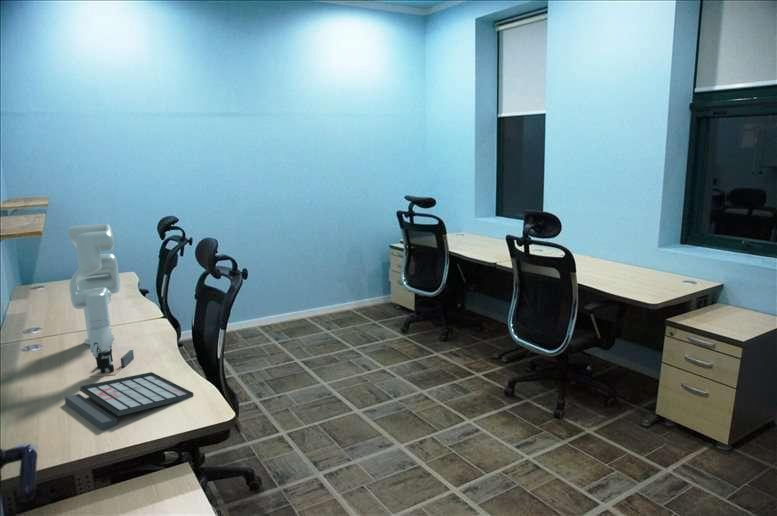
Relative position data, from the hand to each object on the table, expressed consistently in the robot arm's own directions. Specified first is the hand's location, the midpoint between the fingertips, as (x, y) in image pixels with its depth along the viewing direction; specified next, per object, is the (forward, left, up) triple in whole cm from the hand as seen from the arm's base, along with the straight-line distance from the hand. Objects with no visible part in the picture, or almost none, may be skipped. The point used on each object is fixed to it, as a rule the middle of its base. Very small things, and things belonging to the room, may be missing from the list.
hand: (105, 364), depth 218 cm
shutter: (+28, +20, -4) cm, 34 cm away
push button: (0, 0, -3) cm, 3 cm away
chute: (-9, 0, -3) cm, 10 cm away
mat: (0, 0, -3) cm, 3 cm away
